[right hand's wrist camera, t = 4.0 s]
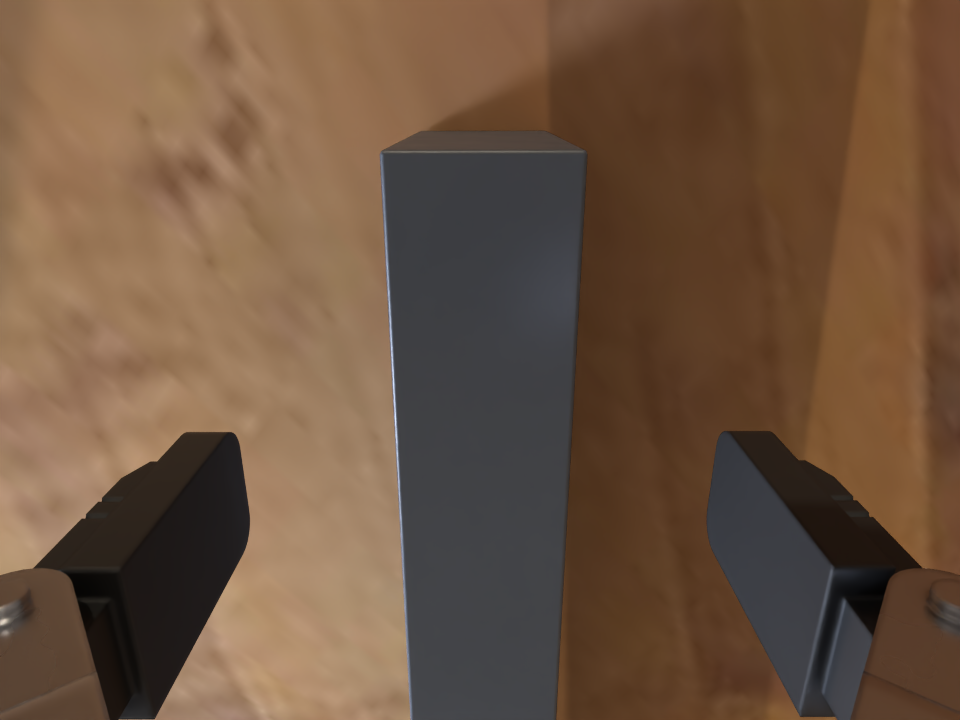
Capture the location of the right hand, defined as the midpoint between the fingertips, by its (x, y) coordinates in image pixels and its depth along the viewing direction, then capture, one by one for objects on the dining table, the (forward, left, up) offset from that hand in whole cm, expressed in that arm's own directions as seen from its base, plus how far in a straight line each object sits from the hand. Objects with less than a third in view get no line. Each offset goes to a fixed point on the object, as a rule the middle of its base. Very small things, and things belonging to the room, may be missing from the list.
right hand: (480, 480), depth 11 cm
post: (+28, -21, -13) cm, 37 cm away
